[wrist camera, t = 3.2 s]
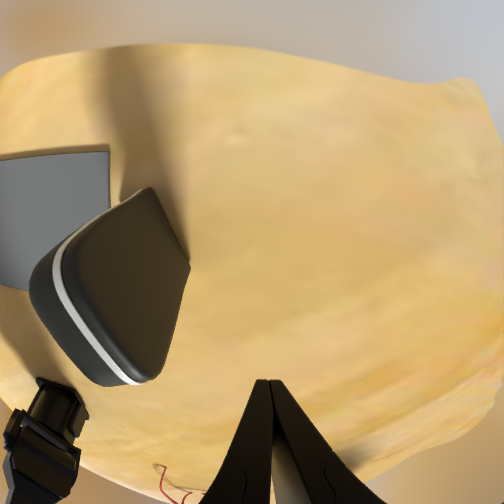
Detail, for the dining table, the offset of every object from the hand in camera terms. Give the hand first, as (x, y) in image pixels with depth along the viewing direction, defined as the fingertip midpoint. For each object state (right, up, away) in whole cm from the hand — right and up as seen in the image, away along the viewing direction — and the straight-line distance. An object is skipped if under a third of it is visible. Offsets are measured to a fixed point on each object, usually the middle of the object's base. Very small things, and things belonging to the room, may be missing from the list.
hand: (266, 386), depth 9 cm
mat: (-19, +6, +9) cm, 22 cm away
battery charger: (-8, +6, +10) cm, 14 cm away
